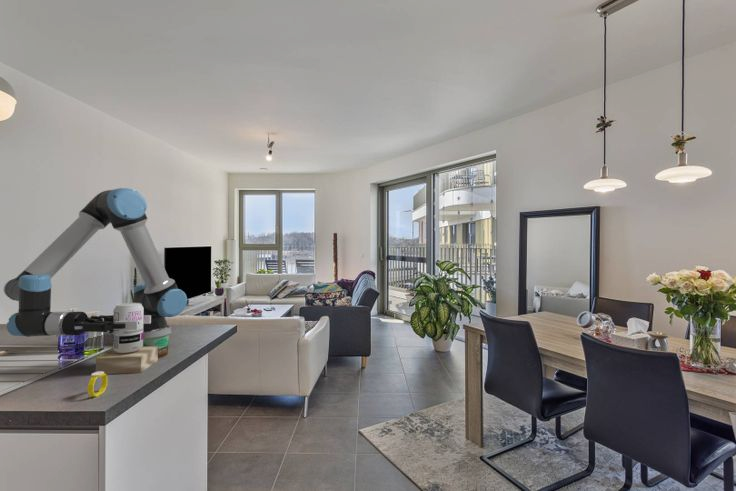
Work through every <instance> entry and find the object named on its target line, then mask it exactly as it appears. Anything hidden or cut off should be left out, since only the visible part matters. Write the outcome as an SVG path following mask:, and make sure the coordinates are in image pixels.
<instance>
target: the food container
mask: <svg viewBox="0 0 736 491" xmlns="http://www.w3.org/2000/svg"><path fill="white" fill-rule="evenodd" d="M171 334H172V328H171V326H170V325H168V324H167V325H164V327H163V328H160V329H153V330H151V331H149V332H143V346H158V359H159V358H160V359H161V358H163V357H166V356H167V355H168V353H169V352H168V351H169V342H170V335H171Z"/></svg>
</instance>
